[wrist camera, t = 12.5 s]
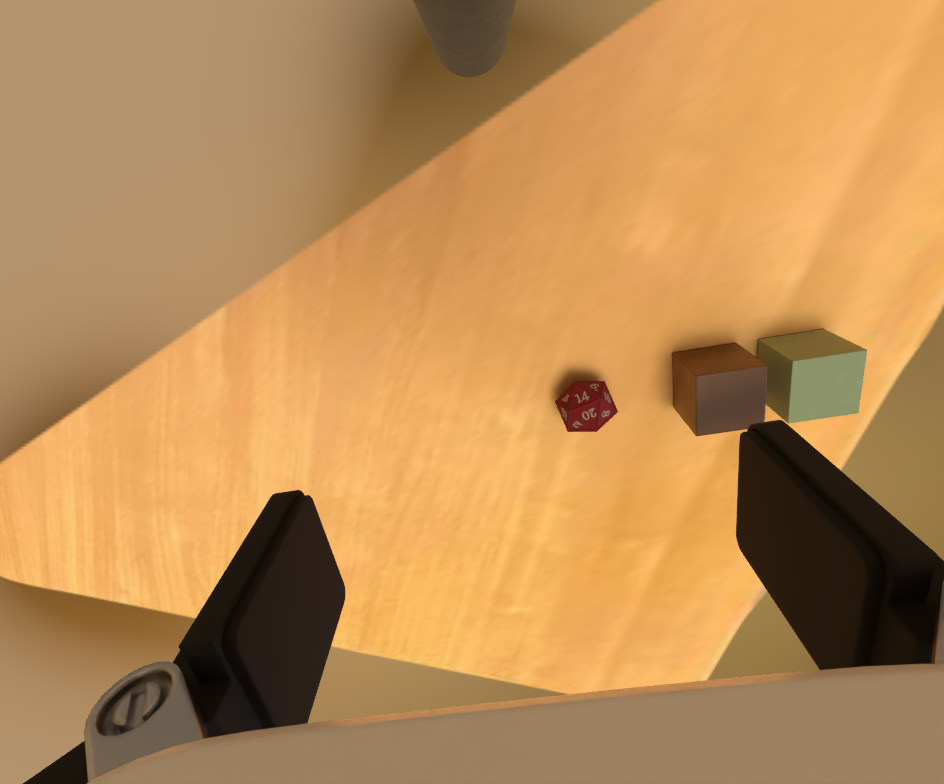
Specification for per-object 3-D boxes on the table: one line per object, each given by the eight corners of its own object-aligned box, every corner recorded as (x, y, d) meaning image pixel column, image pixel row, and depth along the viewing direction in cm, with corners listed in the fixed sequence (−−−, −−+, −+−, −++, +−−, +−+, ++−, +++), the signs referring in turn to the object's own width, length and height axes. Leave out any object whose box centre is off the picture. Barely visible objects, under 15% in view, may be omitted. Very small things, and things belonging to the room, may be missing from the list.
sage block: (757, 338, 37) (792, 361, 33) (823, 328, 36) (867, 349, 32) (754, 395, 39) (787, 423, 34) (817, 386, 38) (858, 413, 34)
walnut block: (672, 352, 37) (695, 376, 33) (736, 342, 37) (768, 365, 33) (673, 407, 39) (695, 436, 35) (734, 398, 39) (764, 426, 35)
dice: (594, 359, 38) (607, 381, 34) (615, 409, 39) (628, 435, 35) (546, 379, 38) (553, 402, 35) (568, 428, 40) (577, 455, 36)
